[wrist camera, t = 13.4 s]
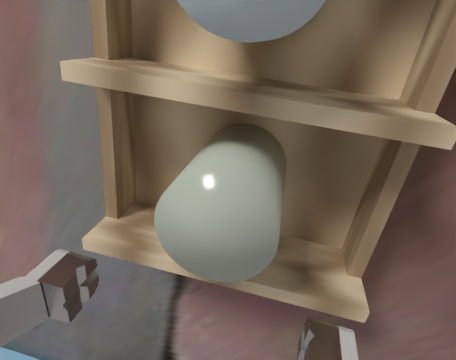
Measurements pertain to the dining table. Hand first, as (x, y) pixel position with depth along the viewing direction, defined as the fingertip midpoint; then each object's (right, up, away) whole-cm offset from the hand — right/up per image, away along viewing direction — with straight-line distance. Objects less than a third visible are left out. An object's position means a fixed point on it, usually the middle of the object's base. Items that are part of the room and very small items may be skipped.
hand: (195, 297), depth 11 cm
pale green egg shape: (+2, +6, +12) cm, 13 cm away
